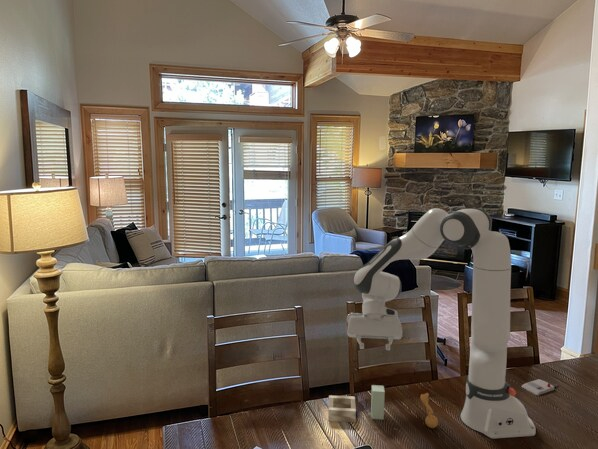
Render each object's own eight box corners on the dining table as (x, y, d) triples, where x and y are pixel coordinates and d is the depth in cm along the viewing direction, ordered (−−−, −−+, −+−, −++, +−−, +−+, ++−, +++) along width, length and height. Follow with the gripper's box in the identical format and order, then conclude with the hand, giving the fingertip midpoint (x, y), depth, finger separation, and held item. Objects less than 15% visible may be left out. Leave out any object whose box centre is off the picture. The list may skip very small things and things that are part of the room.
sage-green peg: (382, 412, 151) (383, 385, 150) (383, 419, 147) (384, 391, 146) (370, 412, 152) (371, 385, 150) (371, 418, 148) (372, 391, 146)
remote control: (517, 389, 167) (518, 382, 167) (545, 380, 174) (545, 373, 174) (533, 398, 161) (534, 390, 161) (561, 388, 168) (561, 381, 168)
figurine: (442, 434, 139) (443, 399, 137) (423, 435, 139) (424, 400, 137) (432, 419, 147) (434, 386, 146) (415, 419, 147) (416, 386, 145)
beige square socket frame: (354, 407, 155) (354, 396, 154) (355, 422, 146) (355, 411, 145) (328, 405, 155) (329, 395, 155) (328, 421, 147) (328, 409, 146)
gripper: (346, 309, 167) (346, 344, 159) (401, 311, 165) (404, 347, 157) (346, 316, 172) (346, 350, 164) (399, 318, 170) (401, 353, 162)
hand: (375, 349), depth 160 cm, fingers open, 8 cm apart
